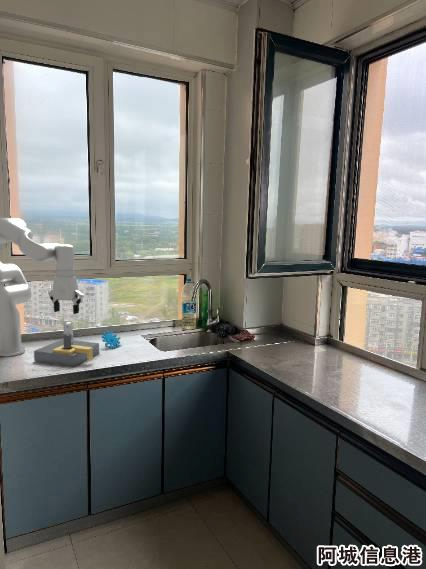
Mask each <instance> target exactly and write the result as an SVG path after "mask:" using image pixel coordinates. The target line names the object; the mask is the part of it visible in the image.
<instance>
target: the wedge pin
mask: <svg viewBox="0 0 426 569" xmlns="http://www.w3.org/2000/svg"><path fill="white" fill-rule="evenodd" d="M63 339H64V349H66V350H70V349H71V334H64V333H63Z"/></svg>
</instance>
